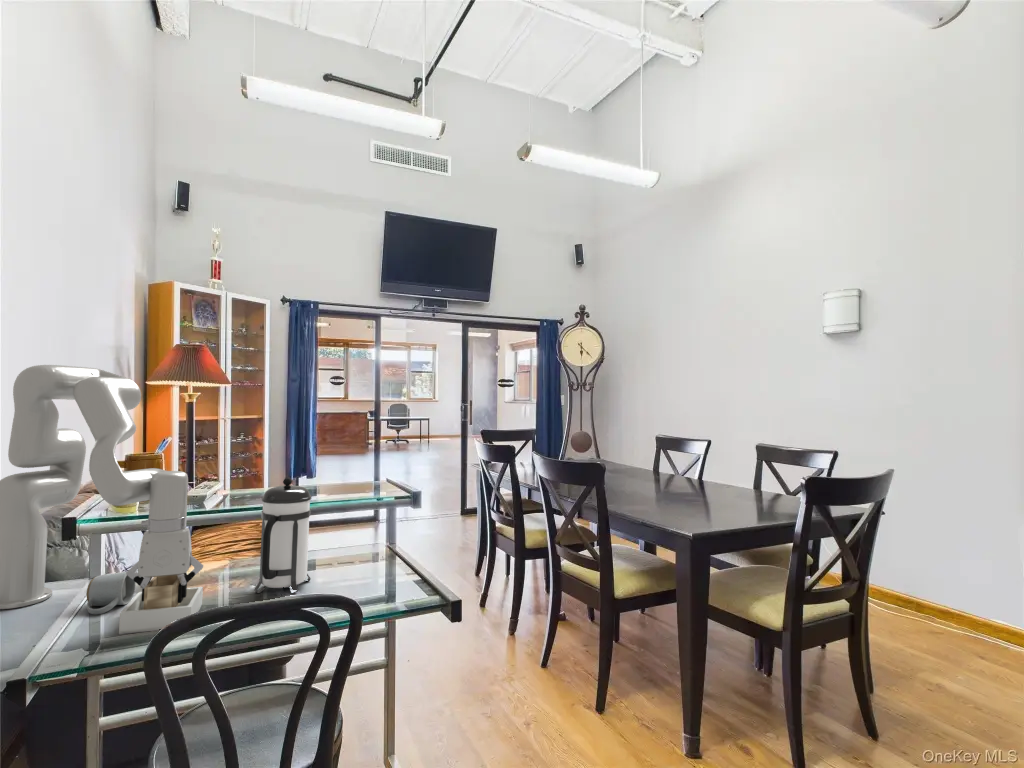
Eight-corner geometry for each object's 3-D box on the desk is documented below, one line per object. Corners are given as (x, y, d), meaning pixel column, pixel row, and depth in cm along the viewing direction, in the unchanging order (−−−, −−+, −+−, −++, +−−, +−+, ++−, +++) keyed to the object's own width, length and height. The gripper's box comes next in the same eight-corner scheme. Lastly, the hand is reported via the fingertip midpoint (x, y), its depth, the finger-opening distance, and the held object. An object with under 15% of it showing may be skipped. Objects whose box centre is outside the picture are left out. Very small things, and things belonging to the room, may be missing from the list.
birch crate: (143, 615, 121) (144, 587, 121) (154, 600, 129) (155, 575, 130) (174, 612, 123) (175, 585, 123) (183, 598, 131) (184, 573, 132)
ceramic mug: (99, 599, 137) (100, 569, 137) (135, 597, 138) (137, 567, 139) (76, 617, 126) (77, 584, 126) (116, 614, 128) (117, 582, 128)
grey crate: (118, 634, 117) (119, 613, 118) (138, 610, 130) (138, 591, 130) (190, 626, 122) (191, 606, 122) (202, 605, 135) (202, 586, 135)
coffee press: (242, 585, 149) (247, 476, 150) (300, 574, 160) (304, 472, 161) (261, 604, 136) (266, 485, 137) (323, 591, 146) (328, 480, 147)
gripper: (118, 530, 120) (114, 612, 120) (206, 526, 126) (203, 604, 126) (129, 523, 127) (125, 600, 127) (212, 519, 133) (209, 593, 133)
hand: (164, 601), depth 126 cm, fingers closed on birch crate, 6 cm apart
